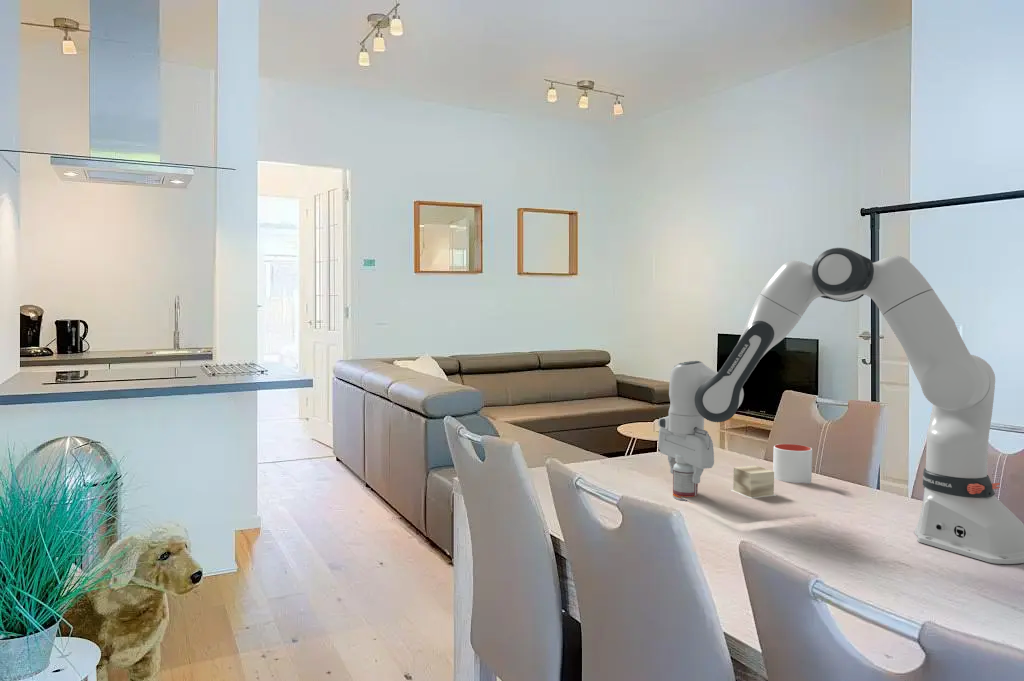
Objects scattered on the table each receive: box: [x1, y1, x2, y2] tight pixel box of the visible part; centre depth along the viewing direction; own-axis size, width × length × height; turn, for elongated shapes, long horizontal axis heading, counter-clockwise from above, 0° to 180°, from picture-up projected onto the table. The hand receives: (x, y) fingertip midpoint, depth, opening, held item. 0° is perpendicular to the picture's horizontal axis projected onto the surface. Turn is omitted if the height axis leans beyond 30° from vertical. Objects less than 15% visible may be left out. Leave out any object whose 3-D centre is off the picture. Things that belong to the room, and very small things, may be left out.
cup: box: [772, 443, 813, 485], centre depth 197 cm, size 10×10×10 cm
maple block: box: [732, 465, 775, 497], centre depth 182 cm, size 7×7×6 cm
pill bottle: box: [672, 454, 699, 502], centre depth 181 cm, size 6×6×11 cm
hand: (684, 478), depth 181 cm, fingers open, 8 cm apart
